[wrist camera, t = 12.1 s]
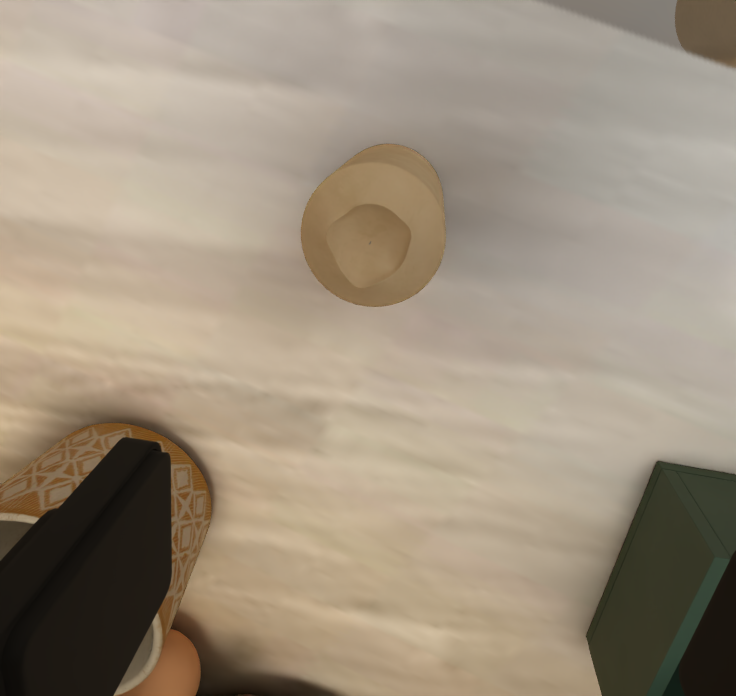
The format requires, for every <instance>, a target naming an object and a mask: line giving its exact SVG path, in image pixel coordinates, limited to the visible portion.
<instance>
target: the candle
mask: <svg viewBox="0 0 736 696" xmlns="http://www.w3.org/2000/svg"><path fill="white" fill-rule="evenodd" d="M301 242H302V248H303V252H304V255H305V258H306V261H307V263H308V265H309V267H310V269H311V271H312V272H313V274H314V275H315V277H316V278H317V279H318V281H319V282H320V283H321V284H322V285H323V286H324V287H325V288H326V289H328V290H329V291H330V292H331V293H333V294H334V295H336V296H338V297H339V298H341V299H343V300H345V301H348V302H350V303H354V304H357V305H362V306H370V307H380V306H388V305H393V304H396V303H399V302H402V301H404V300H406V299H408V298H410V297H412V296H413V295H415V294H416V293H418V292H419V291H420V290H421V289H423V288H424V287H425V286H426V285H427V284H428V282H429V281H430V280H431V279H432V277H433V276H434V274H435V273H436V271H437V269H438V267H439V265H440V263H441V260H442V257H443V254H444V249H445V242H446V229H445V214H444V201H443V192H442V187H441V183H440V180H439V178H438V176H437V174H436V172H435V170H434V169H433V167H432V165H431V164H430V163H429V162H428V161H427V160H426V159H425V158H424V157H423V156H422V155H420V154H419V153H417V152H416V151H414V150H412V149H410V148H407V147H404V146H401V145H395V144H382V145H376V146H372V147H370V148H367V149H365V150H363V151H361V152H360V153H358V154H356V155H355V156H354V157H352V158H351V159H350V160H349V161H347V162H346V163H345V164H344V165H342V166H341V167H340V168H339V169H337V170H336V171H335V172H334V173H333V174H331V175H330V176H329V177H328V178H326V179H325V180H324V181H323V182H322V183H321V184H320V185H319V186H318V187H317V189H316V190H315V191H314V193H313V194H312V196H311V197H310V199H309V201H308V203H307V206H306V208H305V211H304V214H303V218H302V225H301Z"/></svg>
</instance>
